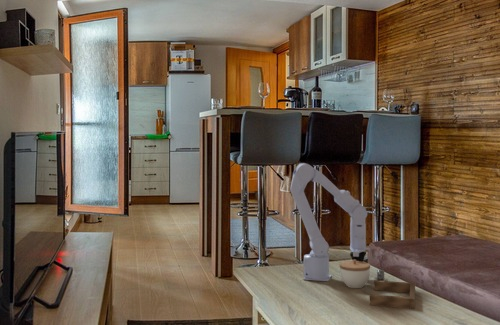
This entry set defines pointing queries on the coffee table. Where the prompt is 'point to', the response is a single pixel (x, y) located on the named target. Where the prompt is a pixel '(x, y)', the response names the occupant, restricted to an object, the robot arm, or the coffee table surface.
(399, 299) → the walnut shelf
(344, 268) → the lidded jar
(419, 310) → the coffee table surface
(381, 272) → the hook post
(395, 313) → the coffee table surface
